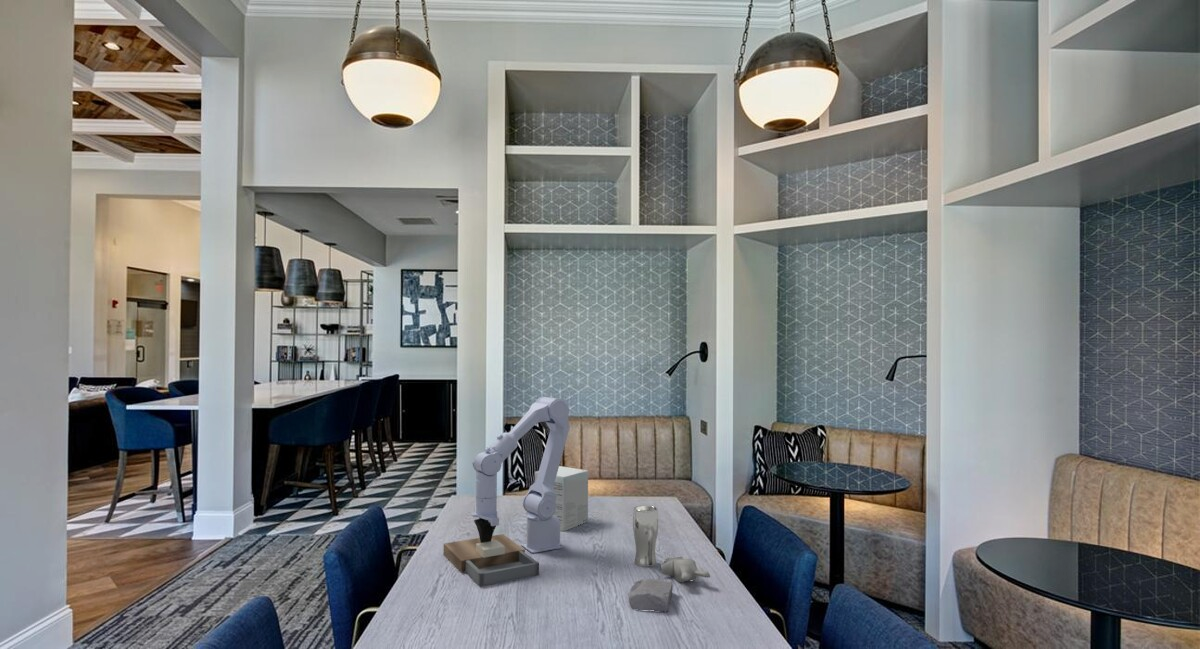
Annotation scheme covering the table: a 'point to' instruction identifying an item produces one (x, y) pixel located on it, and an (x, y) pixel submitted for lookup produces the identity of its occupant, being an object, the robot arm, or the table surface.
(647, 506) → the beer glass
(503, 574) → the box
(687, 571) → the bunny figurine
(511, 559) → the drawer casing
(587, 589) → the table surface
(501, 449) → the robot arm
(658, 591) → the stone block
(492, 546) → the tile
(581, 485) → the supplement box
